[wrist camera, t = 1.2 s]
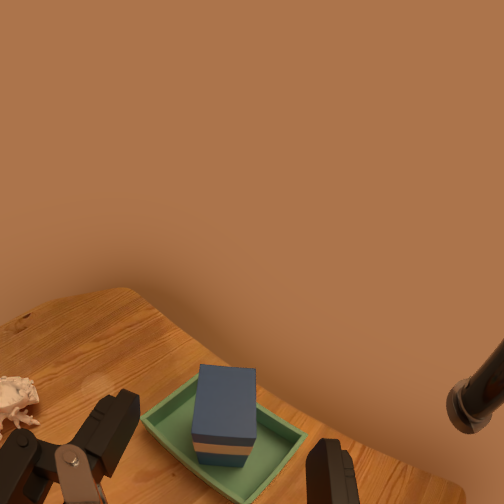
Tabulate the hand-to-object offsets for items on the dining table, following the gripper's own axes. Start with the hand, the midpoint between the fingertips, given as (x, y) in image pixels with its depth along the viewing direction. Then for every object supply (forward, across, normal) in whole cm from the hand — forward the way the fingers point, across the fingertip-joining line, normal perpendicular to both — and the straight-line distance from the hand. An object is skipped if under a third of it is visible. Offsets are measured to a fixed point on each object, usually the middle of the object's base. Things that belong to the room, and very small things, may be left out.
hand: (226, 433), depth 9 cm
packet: (+12, -1, +19) cm, 22 cm away
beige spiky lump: (+4, +27, +25) cm, 37 cm away
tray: (+12, -1, +19) cm, 23 cm away
